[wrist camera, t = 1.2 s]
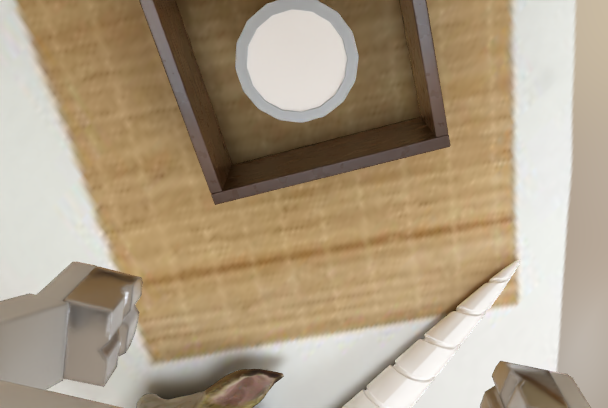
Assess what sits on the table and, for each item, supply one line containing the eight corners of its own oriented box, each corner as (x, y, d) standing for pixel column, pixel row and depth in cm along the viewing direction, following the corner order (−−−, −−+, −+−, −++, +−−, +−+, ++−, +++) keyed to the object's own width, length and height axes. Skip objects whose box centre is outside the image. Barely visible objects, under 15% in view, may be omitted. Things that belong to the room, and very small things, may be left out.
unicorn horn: (548, 282, 44) (575, 318, 39) (351, 444, 51) (354, 489, 47) (509, 248, 42) (532, 282, 38) (313, 419, 50) (313, 464, 46)
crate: (146, -47, 34) (121, -47, 29) (390, -122, 32) (404, -135, 28) (225, 177, 40) (214, 205, 36) (433, 124, 38) (450, 146, 34)
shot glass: (254, 99, 38) (243, 128, 31) (240, -6, 35) (225, 2, 28) (352, 90, 37) (361, 118, 31) (347, -16, 35) (355, -10, 28)
